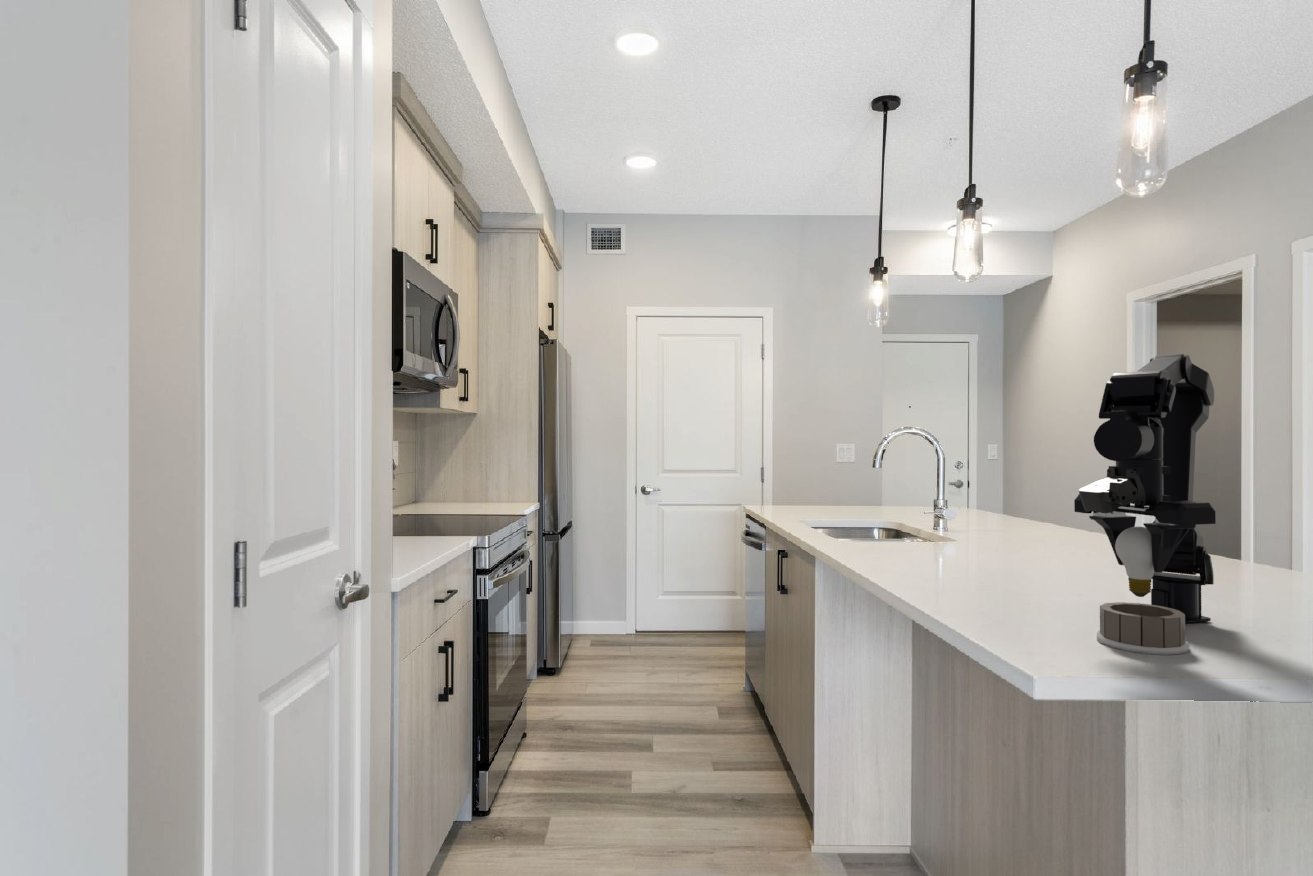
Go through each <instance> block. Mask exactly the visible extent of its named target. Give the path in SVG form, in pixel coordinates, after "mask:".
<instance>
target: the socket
mask: <svg viewBox="0 0 1313 876" xmlns="http://www.w3.org/2000/svg"><path fill="white" fill-rule="evenodd" d="M1096 640H1097V641H1098V642H1099V643H1100V644H1102V645H1105V646H1107V647H1111V648H1114V649H1117V650H1121V651H1125V652H1126V651H1127V652H1132V653H1137V654H1138V653H1139V654H1149V655H1160V656H1164V655H1165V656H1169V655H1170V656H1173V655H1175V656H1176V655H1182V654H1185V653H1188V652H1189V651H1190V644H1189V642H1188V641H1187V640H1186V623H1185V614H1184V613H1182V612H1180V611H1179V610H1175V609H1171V608H1167V607H1163V606H1157V605H1151V603H1150V604H1149V603H1140V602H1123V601H1120V602H1119V601H1117V602H1106V603H1103V604H1100V605H1099V630H1098V631H1097V632H1096Z"/></svg>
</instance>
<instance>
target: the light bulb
mask: <svg viewBox="0 0 1313 876" xmlns="http://www.w3.org/2000/svg"><path fill="white" fill-rule="evenodd" d="M1115 549H1116V553H1117V555H1118V557H1119V558H1120V560H1121V561H1122V563H1123V564H1124V565H1123V566H1124V569H1125V573H1126V575H1127V576H1128V578H1127V579H1128V591H1130V592H1131V593H1132V594H1133V595H1134V596H1135V597H1138V598H1144V597H1145V596H1146V595H1149V594H1151V589H1152V579H1151V578H1152V577H1153V575H1154V568H1153V561H1152V542H1151V534H1150V532H1149V531H1148V530H1147V529H1146V527H1145V526H1135V527H1131V528H1128V529H1126V530H1124V531H1123V532H1121V533H1120V535H1119V536H1118V538H1117V540H1116V543H1115Z"/></svg>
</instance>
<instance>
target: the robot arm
mask: <svg viewBox="0 0 1313 876" xmlns="http://www.w3.org/2000/svg"><path fill="white" fill-rule="evenodd" d="M1100 403H1101V404H1100V407H1099V408H1100V409H1099V412H1098V419H1101V420H1105V419H1106V420H1107V421H1104V422H1103V423H1101V425H1099V426H1098V428H1097V429H1096V431H1095V433H1094V435H1093V446H1094V448H1095V449H1096V451H1097V453H1098V454H1099V455H1101V456H1102V457H1103V458H1104V459H1107V460H1109V461H1113V462H1115V465H1108V468H1107V470H1106V477H1105V478H1102V479H1098V480H1096V481H1094V482H1092V483H1089V484H1087V485H1085V486H1083V487H1080V488H1078V495H1077V497H1075V499H1074V507H1073V508H1074V512H1075V513H1081V514H1092V515H1089V516H1088V518H1089V519H1090V520H1092V521H1094V522H1096V523H1097V524H1098V525H1099V526H1100V527H1102V528H1103V530H1104V533H1105V534H1106V536H1107V538H1108V541H1109V543H1110V546H1111V548H1112V551H1113V554H1114V556H1115V558H1116V561H1117V563H1118V565H1120V566H1124V564H1123V563H1122V561H1121V560H1120V558H1119V557H1118V555H1117V553H1116V549H1115V543H1116V540H1117V538H1118V536H1119V535H1120V533H1121V532H1123V531H1124V530H1126V529H1128V528H1131V527H1136V521H1137V516H1134V515H1141V516H1142V515H1143V516H1149V517H1151V516H1152V517H1154V521H1152V522H1149V523H1148V522H1146V523H1145V522H1143V527H1145V528H1146V529H1147V530H1148V531H1149V532H1150V534H1151V542H1152V561H1153V568H1154V575H1153V577H1152V578H1151V580H1152V588H1151V590H1150V591H1151V592H1150V598H1151V599H1150V605H1157V606H1163V607H1167V608H1171V609H1175V610H1179V611H1180V612H1182V613H1184V614H1185V624H1186V623H1187V624H1189V623H1199V622H1200V623H1202V622H1211V621H1212V620H1211V619H1212V618H1211V617H1209V616H1204V615H1202V586H1207V585H1214V584H1215V582H1214V581H1215V580H1214V575H1215V574H1214V568H1213V567H1214V566H1213V562H1212V558H1211V557H1212V556H1211V555H1210V554H1209V553H1208V550H1207V547H1206V546H1204V538H1203V535H1202V534H1201V533H1200V531H1199V530H1198V528H1197V525H1215V524H1216V509H1215V507H1213V505H1212V504H1211V503H1210V502H1203V501H1195V500H1194V484H1195V483H1194V481H1195V457H1196V439H1197V438H1196V437H1197V432H1198V431H1199V430H1200V429H1201V428H1202V426H1203V425H1204V424H1205V423H1206V422H1207V420H1208V419H1209V418H1210V417H1209V415H1210V406H1211V407H1212V406H1213V405H1214V403H1215V390H1214V385H1213V382H1212V379H1211V376H1210V373H1209V372H1208V371H1206V370H1204V369H1203V368H1201V367H1199V366H1197V365H1195V363H1192V360H1191V357H1190V355H1189V354H1187V355H1185V354H1184V353H1180V354H1166V355H1155V357H1150V359H1149V362H1148V363H1146V364H1145V365H1144V366H1142V367H1141V368H1139V369H1138V370H1137V371H1130V372H1127V371H1126V372H1114V373H1113V374H1112V375H1111V376H1110V379H1109V380H1108V381H1107V382H1106V383H1105V387H1104V390H1103V395H1102V399H1101V402H1100ZM1127 514H1132V515H1127ZM1133 514H1134V515H1133ZM1197 574H1198V575H1197Z"/></svg>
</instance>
